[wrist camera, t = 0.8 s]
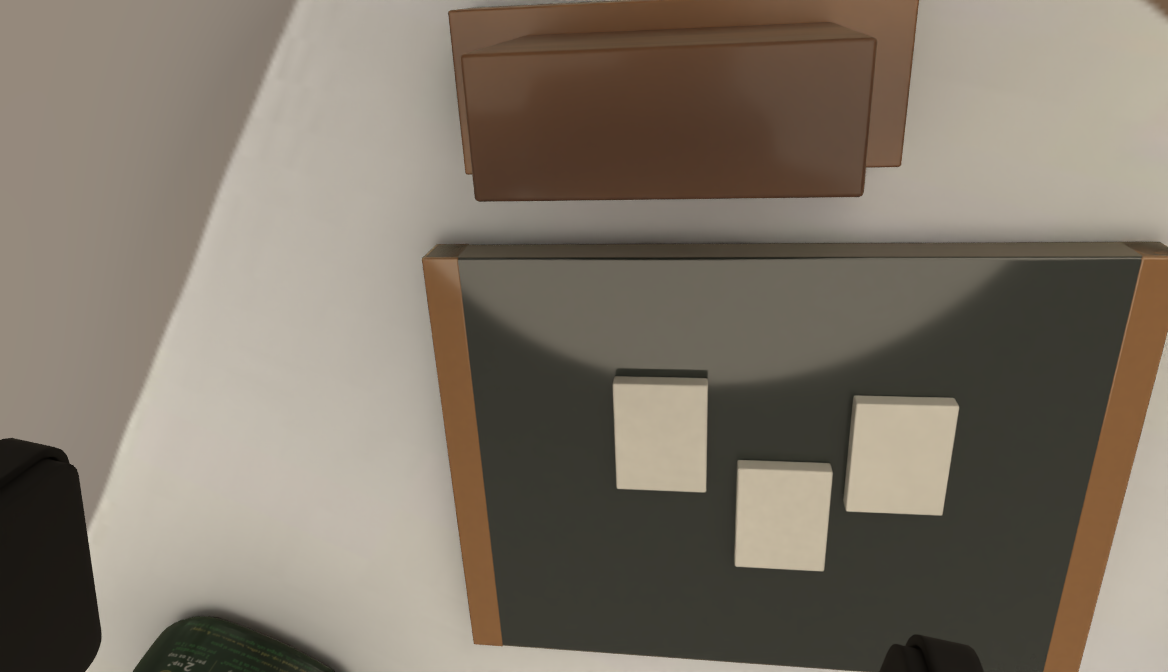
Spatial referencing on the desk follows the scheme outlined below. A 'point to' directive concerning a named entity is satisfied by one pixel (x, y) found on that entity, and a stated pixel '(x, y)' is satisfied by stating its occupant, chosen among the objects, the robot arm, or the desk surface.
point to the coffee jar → (222, 650)
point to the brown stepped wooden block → (681, 97)
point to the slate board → (794, 440)
